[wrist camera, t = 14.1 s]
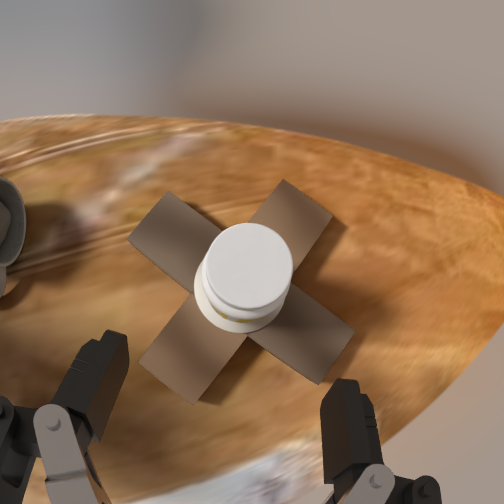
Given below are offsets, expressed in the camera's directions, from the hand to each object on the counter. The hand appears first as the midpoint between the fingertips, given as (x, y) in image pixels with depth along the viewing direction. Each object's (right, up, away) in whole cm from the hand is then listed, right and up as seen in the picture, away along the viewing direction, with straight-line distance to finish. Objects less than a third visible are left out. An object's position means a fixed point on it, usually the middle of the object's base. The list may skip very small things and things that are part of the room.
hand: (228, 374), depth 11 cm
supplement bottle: (0, +2, +11) cm, 11 cm away
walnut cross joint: (0, +2, +13) cm, 13 cm away
